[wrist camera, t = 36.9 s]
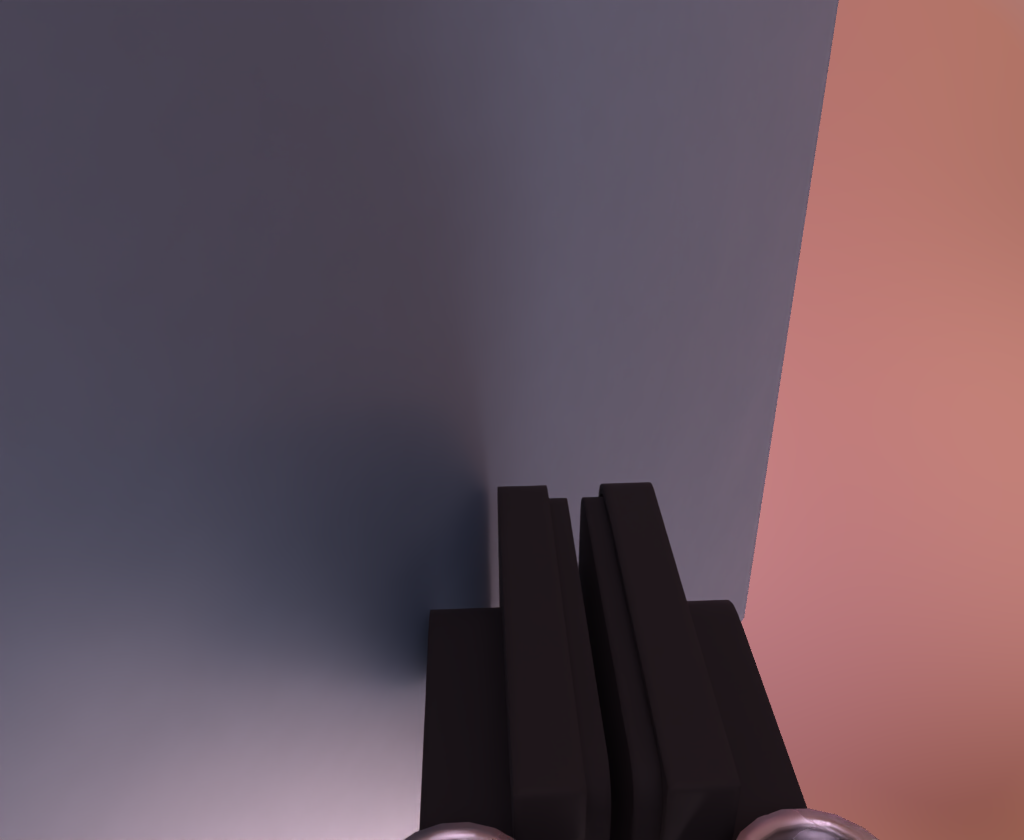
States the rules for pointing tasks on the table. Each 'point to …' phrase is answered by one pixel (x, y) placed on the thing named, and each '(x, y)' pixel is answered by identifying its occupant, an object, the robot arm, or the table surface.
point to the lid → (357, 363)
